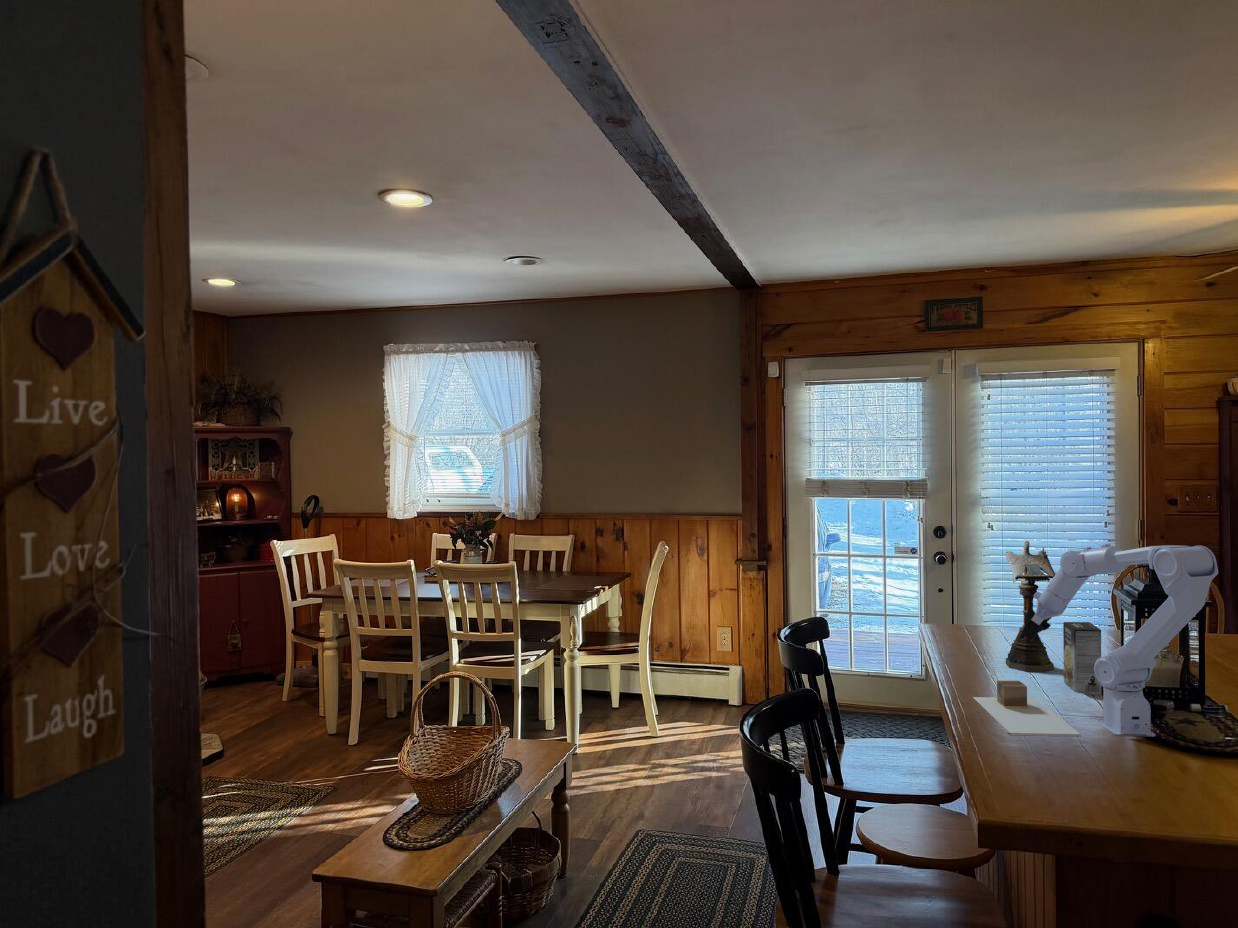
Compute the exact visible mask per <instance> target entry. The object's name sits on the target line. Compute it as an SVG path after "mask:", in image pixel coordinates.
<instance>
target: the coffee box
mask: <svg viewBox="0 0 1238 928" xmlns="http://www.w3.org/2000/svg"><path fill="white" fill-rule="evenodd" d="M1062 626H1063V627H1062V628H1063V631H1062V632H1063V683H1064V684H1065V685H1066V686H1067V687H1069V688H1070V689H1071V690H1072V691H1073V692H1075V693H1082V694H1083V695H1088V696H1089V695H1092V696H1094V695H1095V696H1101V695H1102V686H1101V683H1100V682H1099V681H1098V679H1097V677H1096V675H1095V672H1094V665H1095V662H1096V661H1097V659H1099V658H1100V657H1102V629H1101V628H1099V627H1097V626H1096V625H1095V624H1093V623H1092V622H1089V621H1063V625H1062Z"/></svg>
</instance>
